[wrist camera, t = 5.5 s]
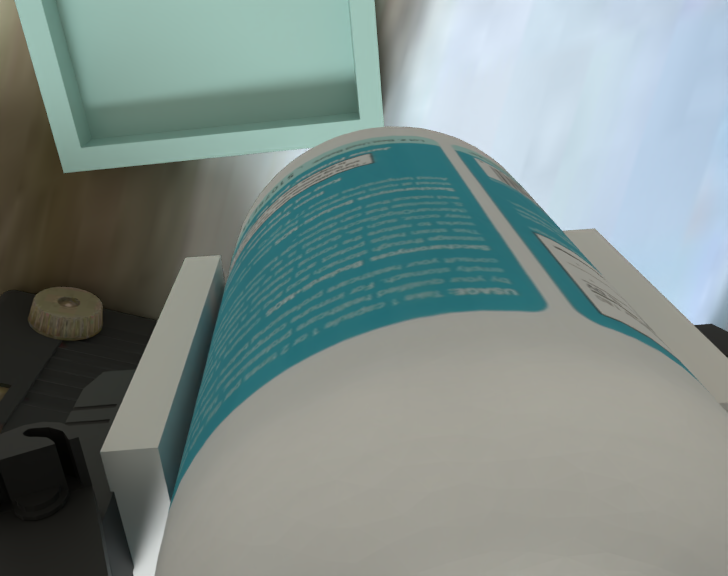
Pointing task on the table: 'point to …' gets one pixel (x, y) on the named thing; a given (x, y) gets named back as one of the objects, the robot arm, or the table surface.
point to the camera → (60, 351)
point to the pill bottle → (436, 390)
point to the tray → (201, 76)
